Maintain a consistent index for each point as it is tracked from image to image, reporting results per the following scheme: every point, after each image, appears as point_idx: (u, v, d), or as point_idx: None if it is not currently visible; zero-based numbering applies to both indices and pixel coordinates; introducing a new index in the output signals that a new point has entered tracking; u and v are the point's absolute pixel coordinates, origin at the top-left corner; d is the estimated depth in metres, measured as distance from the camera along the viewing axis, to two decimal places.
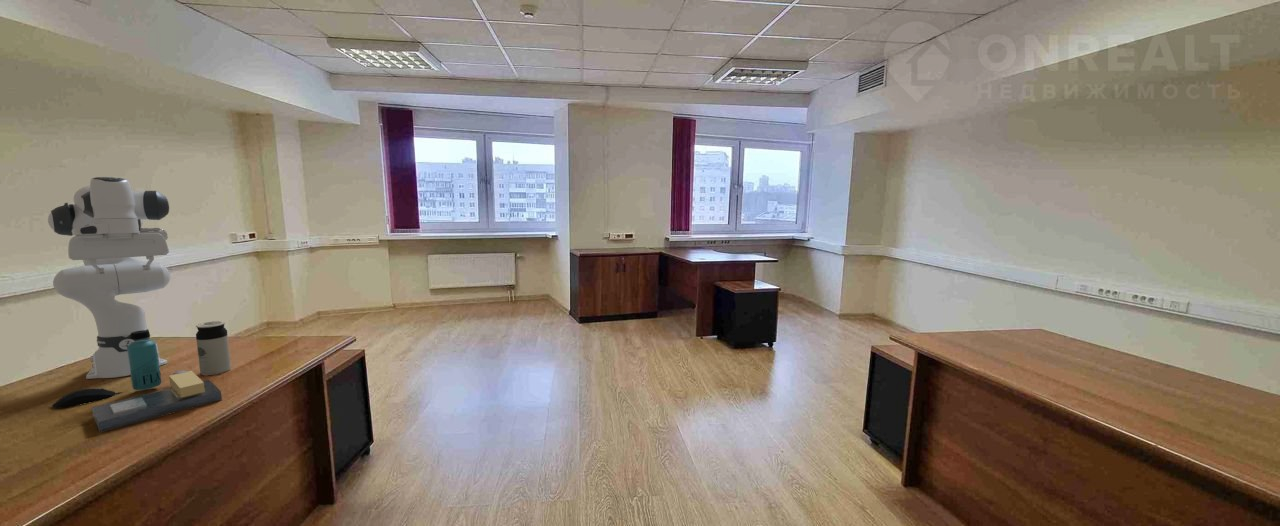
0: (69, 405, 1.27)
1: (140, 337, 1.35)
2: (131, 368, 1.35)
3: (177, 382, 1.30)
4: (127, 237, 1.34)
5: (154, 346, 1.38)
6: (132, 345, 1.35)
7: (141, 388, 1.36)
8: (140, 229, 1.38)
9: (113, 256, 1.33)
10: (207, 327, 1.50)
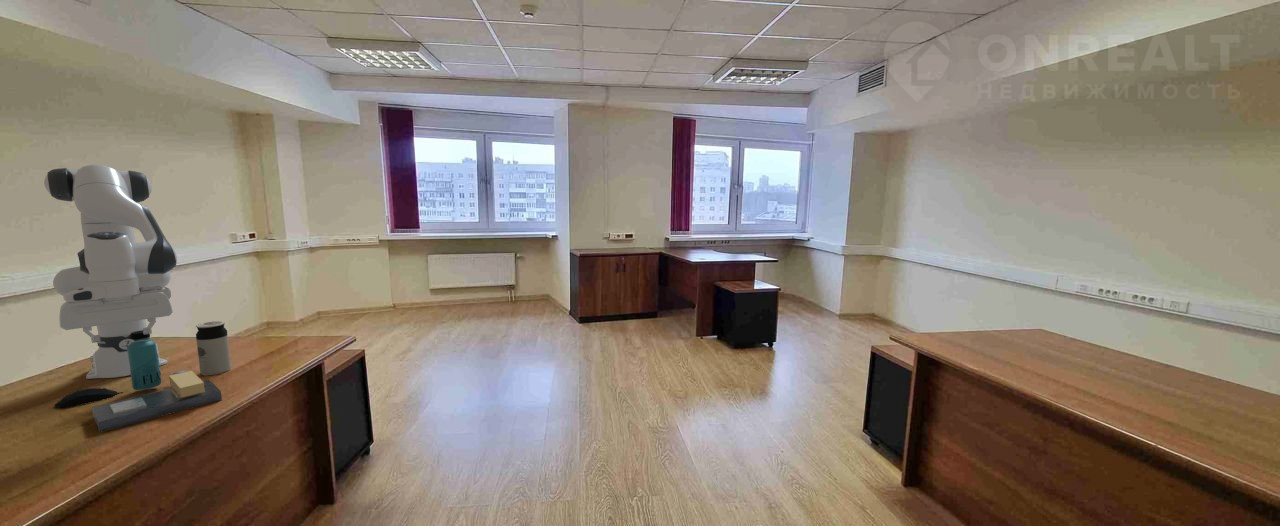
0: (71, 405, 1.27)
1: (140, 337, 1.35)
2: (131, 368, 1.35)
3: (177, 382, 1.30)
4: (126, 300, 1.20)
5: (154, 346, 1.38)
6: (132, 345, 1.35)
7: (141, 388, 1.36)
8: (141, 289, 1.23)
9: (110, 322, 1.18)
10: (207, 327, 1.50)
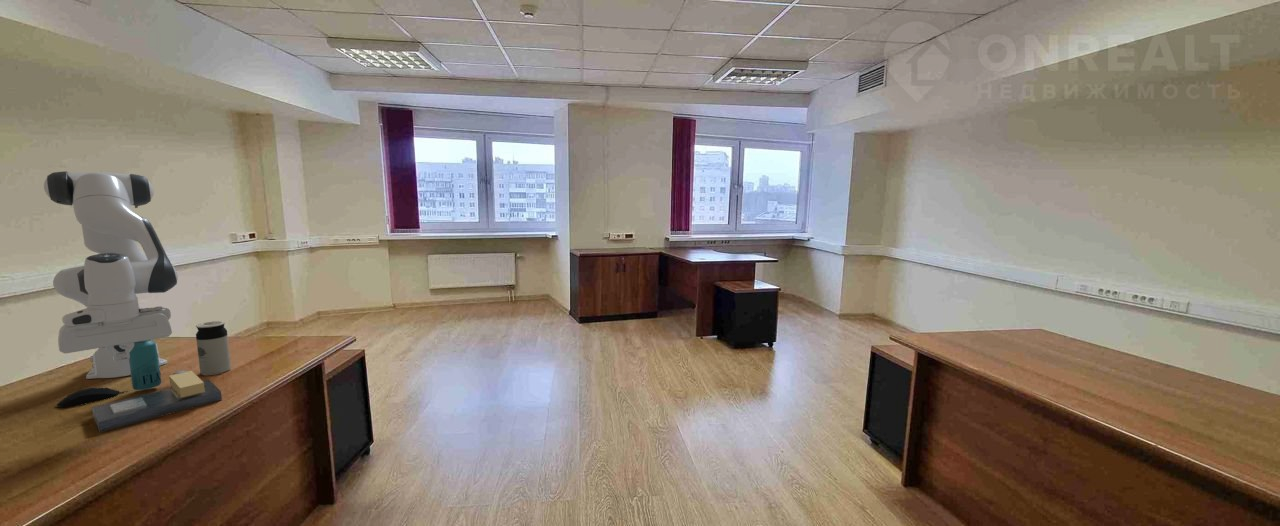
0: (74, 404, 1.28)
1: None
2: (131, 368, 1.35)
3: (177, 382, 1.30)
4: (126, 322, 1.19)
5: (154, 346, 1.38)
6: None
7: (141, 388, 1.36)
8: (140, 310, 1.23)
9: (109, 344, 1.18)
10: (207, 327, 1.50)
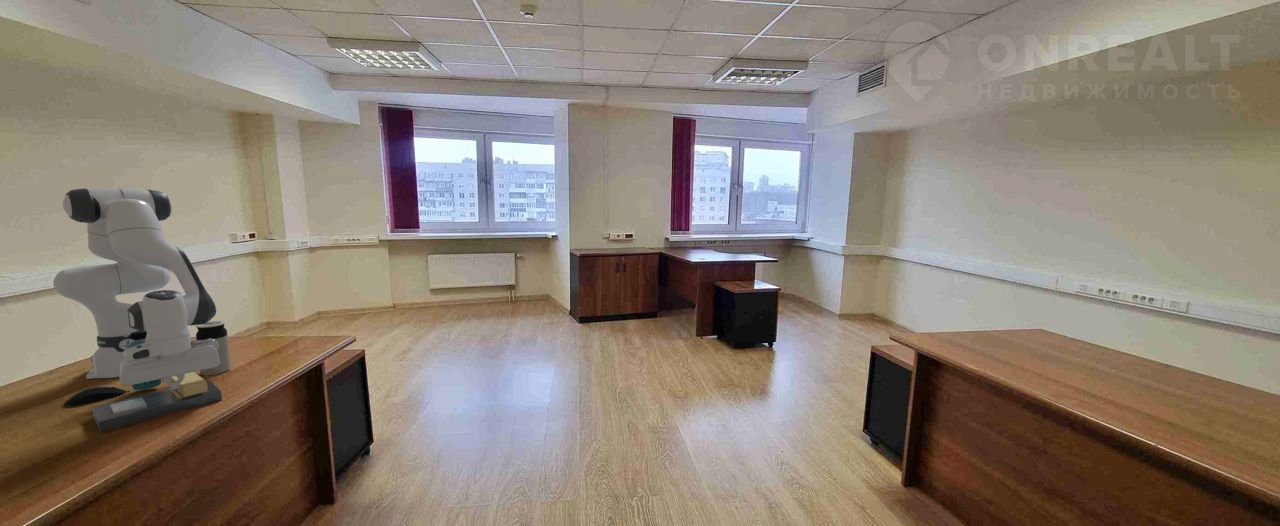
0: (81, 403, 1.29)
1: (140, 337, 1.35)
2: None
3: None
4: (179, 355, 1.26)
5: None
6: (132, 345, 1.35)
7: (141, 388, 1.36)
8: (192, 343, 1.30)
9: (165, 376, 1.25)
10: (207, 327, 1.50)
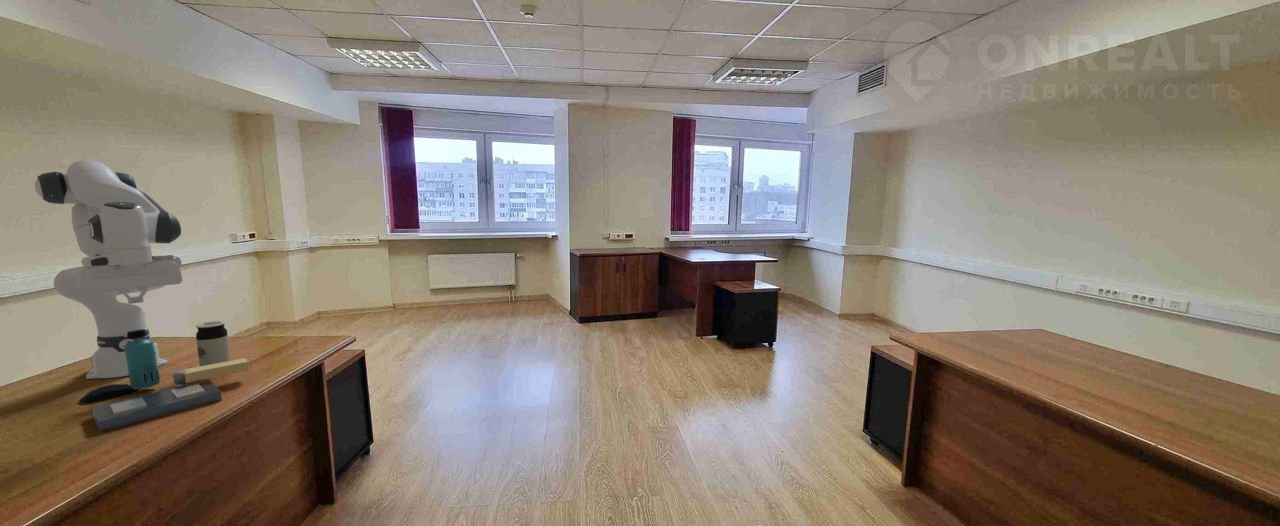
0: (97, 400, 1.31)
1: (139, 335, 1.36)
2: (130, 367, 1.35)
3: (223, 366, 1.43)
4: (140, 267, 1.27)
5: (152, 344, 1.39)
6: (131, 344, 1.35)
7: (142, 386, 1.36)
8: (153, 257, 1.30)
9: (125, 287, 1.25)
10: (207, 327, 1.50)
